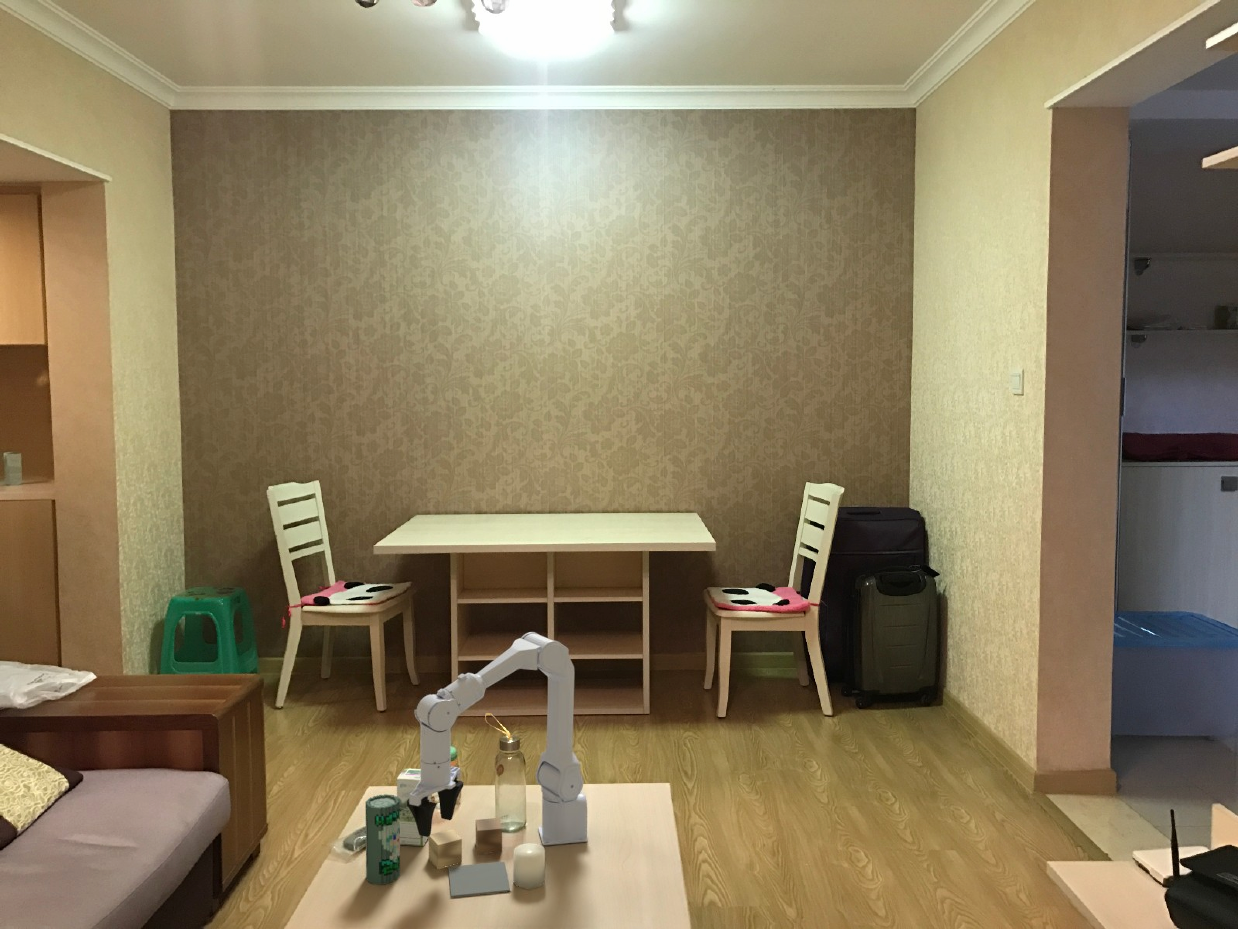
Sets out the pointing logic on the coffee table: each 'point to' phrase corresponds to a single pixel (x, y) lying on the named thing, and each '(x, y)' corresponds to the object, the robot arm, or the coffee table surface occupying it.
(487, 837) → the walnut block
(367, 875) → the can
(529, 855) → the white pillar candle
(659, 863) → the coffee table surface
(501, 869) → the rubber mat
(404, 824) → the syrup box
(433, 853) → the oak block
